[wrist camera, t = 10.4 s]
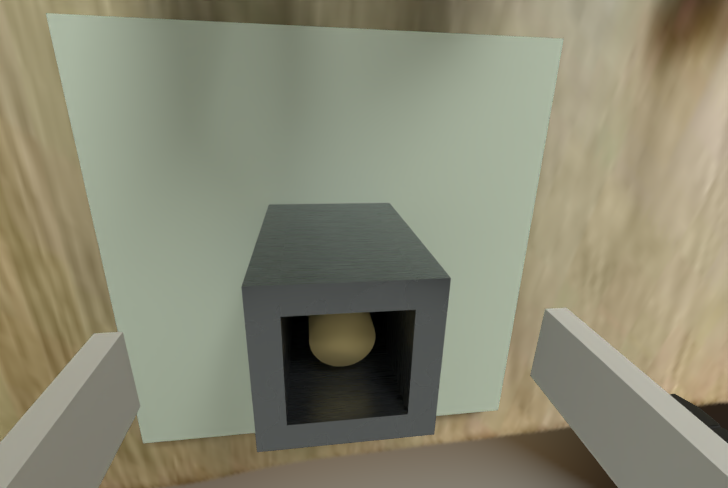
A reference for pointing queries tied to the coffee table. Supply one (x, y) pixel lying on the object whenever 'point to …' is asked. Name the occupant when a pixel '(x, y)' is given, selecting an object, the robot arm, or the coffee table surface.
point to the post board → (297, 185)
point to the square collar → (337, 296)
